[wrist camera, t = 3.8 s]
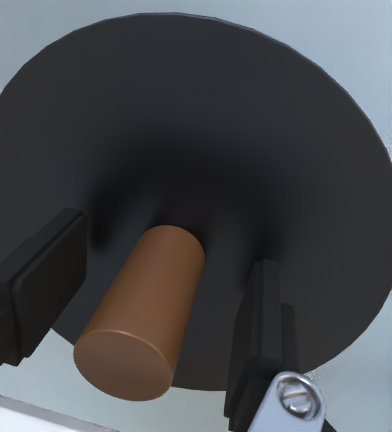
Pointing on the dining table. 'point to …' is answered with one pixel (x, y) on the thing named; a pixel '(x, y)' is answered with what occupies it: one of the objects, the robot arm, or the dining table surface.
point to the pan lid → (195, 194)
